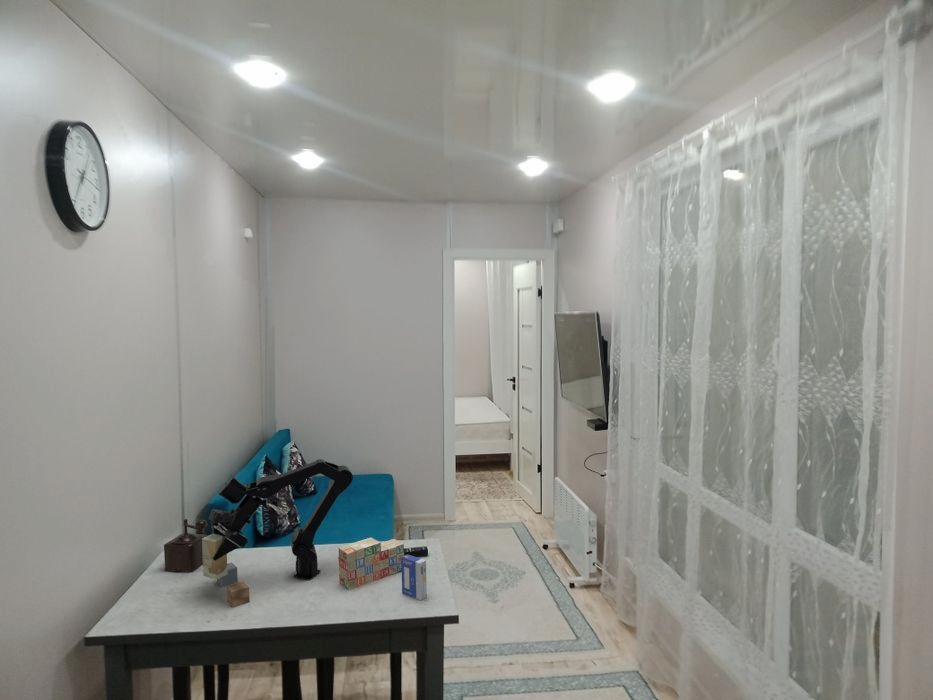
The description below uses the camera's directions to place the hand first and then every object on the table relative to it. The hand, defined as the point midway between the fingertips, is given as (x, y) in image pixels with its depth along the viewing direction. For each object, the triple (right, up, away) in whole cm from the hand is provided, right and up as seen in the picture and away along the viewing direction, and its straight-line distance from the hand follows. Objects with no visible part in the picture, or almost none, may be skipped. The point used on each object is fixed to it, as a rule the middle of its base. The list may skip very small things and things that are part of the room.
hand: (209, 555), depth 176 cm
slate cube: (+1, -13, +11) cm, 17 cm away
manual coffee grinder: (-16, -12, +23) cm, 31 cm away
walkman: (+63, -13, +1) cm, 65 cm away
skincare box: (+1, -7, +1) cm, 7 cm away
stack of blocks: (+48, -12, +14) cm, 51 cm away
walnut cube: (+10, -13, -2) cm, 17 cm away
